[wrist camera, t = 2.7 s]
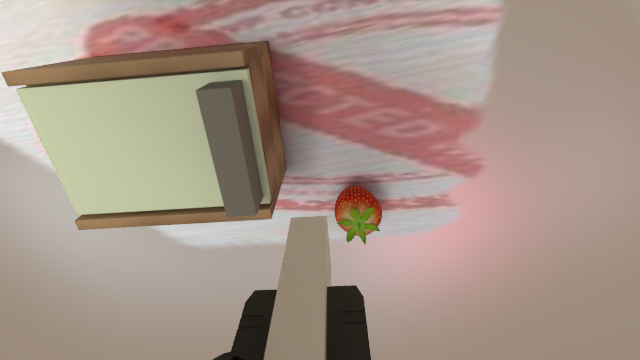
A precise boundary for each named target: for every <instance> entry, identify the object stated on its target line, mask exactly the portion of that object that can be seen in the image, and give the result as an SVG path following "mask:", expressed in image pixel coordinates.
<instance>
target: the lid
mask: <svg viewBox="0 0 640 360" xmlns="http://www.w3.org/2000/svg"><path fill="white" fill-rule="evenodd" d="M16 90H17V93H18V95H19V97H20V99H21V101H22V103H23V105H24V107H25V109H26V111H27V113H28V115H29V117H30V119H31V121H32V123H33V126H34V128H35V130H36V132H37V134H38V136H39V138H40V140H41V142H42V144H43V146H44V148H45V150H46V152H47V154H48V156H49V158H50V161H51V163H52V165H53V167H54V169H55V171H56V173H57V175H58V177H59V179H60V181H61V183H62V185H63V187H64V189H65V191H66V193H67V196H68V198H69V200H70V202H71V204H72V206H73V208H74V210H75V212H76V214H77V215H86V214H102V213H119V212H136V211H153V210H169V209H186V208H203V207H220V206H224V208H225V212H226V216H227V217H238V216H255V215H257V212H258V210H259V207H260V204H270V202H271V193H270V188H269V182H268V176H267V170H266V164H265V158H264V153H263V147H262V141H261V135H260V129H259V124H258V118H257V112H256V106H255V100H254V95H253V89H252V83H251V77H250V71H249V68H242V69H230V70H218V71H207V72H195V73H183V74H172V75H160V76H148V77H137V78H125V79H113V80H102V81H90V82H78V83H67V84H55V85H43V86H32V87H23V88H19V89H16Z"/></svg>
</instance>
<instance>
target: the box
mask: <svg viewBox="0 0 640 360" xmlns="http://www.w3.org/2000/svg"><path fill="white" fill-rule="evenodd" d="M242 68H249V71H250V77H251V83H252V89H253V95H254V100H255V106H256V112H257V118H258V124H259V129H260V135H261V141H262V147H263V153H264V158H265V164H266V170H267V176H268V182H269V188H270V193H271V202H270V204H260V207H259V210H258V212H257V215H255V216H238V217H227V216H226V212H225V208H224V206H220V207H203V208H186V209H169V210H153V211H136V212H119V213H102V214H86V215H81V216H80V217H79V218H77V219H76V220H75V223H76V225H77V227H78V229H79V230H85V229H103V228H119V227H137V226H156V225H173V224H191V223H209V222H226V221H244V220H261V219H271V218H272V215H273V211H274V208H275V205H276V201H277V198H278V194H279V191H280V187H281V184H282V180H283V177H284V174H285V170H286V164H285V157H284V150H283V143H282V136H281V129H280V122H279V115H278V108H277V101H276V94H275V87H274V80H273V73H272V66H271V59H270V51H269V44H268V41H263V42H252V43H241V44H230V45H219V46H207V47H196V48H185V49H174V50H163V51H152V52H141V53H130V54H119V55H108V56H97V57H91V58H85V59H79V60H73V61H67V62H61V63H55V64H49V65H43V66H37V67H31V68H25V69H19V70H13V71H7V72H1V73H2V75H3V77H4V79H5V81H6V83H7V85H8V86H18V85H26V86H27V87H32V86H43V85H55V84H67V83H78V82H90V81H102V80H113V79H125V78H137V77H148V76H160V75H172V74H183V73H195V72H207V71H218V70H230V69H242Z"/></svg>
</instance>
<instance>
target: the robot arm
mask: <svg viewBox="0 0 640 360" xmlns="http://www.w3.org/2000/svg"><path fill="white" fill-rule="evenodd" d="M213 360H371V356H370V348H369V340H368V332H367V324H366V315H365V306H364V298H363V296H362V294H361V293H360V291H359V290H358V288H357V286H334V287H333V286H331V262H330V250H329V238H328V226H327V216H317V217H299V218H291V222H290V227H289V232H288V237H287V243H286V248H285V253H284V258H283V263H282V268H281V273H280V278H279V284H278V288H277V290H256V291H254V292H253V294H252V295H251V296H250V297H249V299H248V300H247V301H246V303H245V306H244V309H243V313H242V318H241V319H240V323H239V327H238V330H237V333H236V336H235V340H234V343H233V346H232V350H231V352H228V353H224V354H222V355H220V356H218V357H217V358H215V359H213Z"/></svg>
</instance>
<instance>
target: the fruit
mask: <svg viewBox="0 0 640 360" xmlns="http://www.w3.org/2000/svg"><path fill="white" fill-rule="evenodd" d="M335 217H336V220H337V222H338V223H337V224H339V225H340V227H341V228H342V229H343V230H345V231H346V232H348V233H347V242H349V241H351V240H352V239H353V238H354V236H355V235H357V236H360V237H361V239H362V241H363V242H364V244H365V243H366V236H365V235H367V234H369V233H371V232H373V231H374V230H375V231H380V230H379V229H378V228H377V227H378V225H379V224H380V222H381V218H382V210H381V206H380V204H379V202H378V201H377V199H376V198H375V197H374V196H373V195H372V194H371V193H370V192H369V191H368V190H366V189H365V188H363V187H360V186H352V187H348V188H346V189H345V190H344V191H342V192H341V194H340V195H339V197H338V198H337V201H336V203H335Z"/></svg>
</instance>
